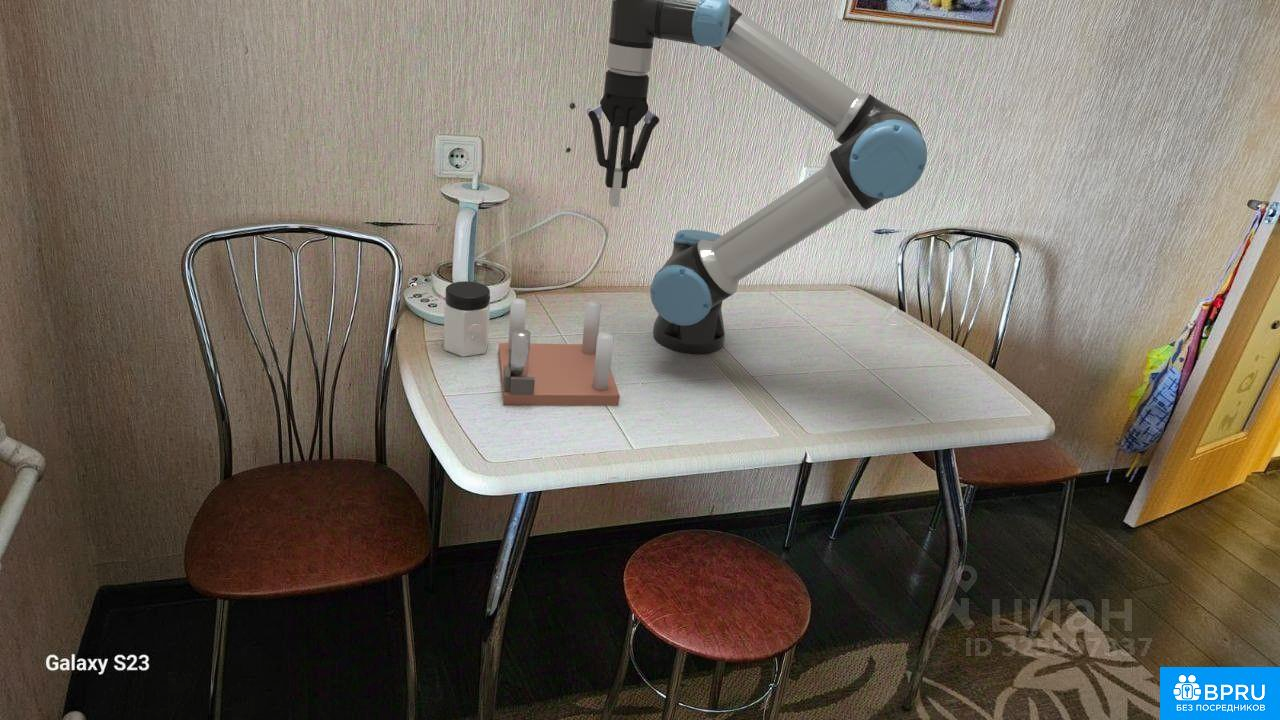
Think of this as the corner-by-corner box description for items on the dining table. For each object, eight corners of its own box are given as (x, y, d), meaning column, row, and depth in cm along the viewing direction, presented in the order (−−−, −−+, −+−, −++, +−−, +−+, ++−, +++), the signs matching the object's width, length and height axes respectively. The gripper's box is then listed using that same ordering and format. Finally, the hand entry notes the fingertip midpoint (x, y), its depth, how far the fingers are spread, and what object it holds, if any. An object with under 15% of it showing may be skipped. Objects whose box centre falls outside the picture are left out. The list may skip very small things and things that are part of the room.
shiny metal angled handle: (508, 361, 149) (510, 310, 144) (528, 361, 149) (531, 312, 145) (507, 388, 140) (510, 336, 135) (529, 389, 140) (532, 337, 136)
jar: (452, 359, 151) (453, 300, 146) (436, 341, 157) (436, 283, 152) (496, 352, 156) (499, 294, 151) (480, 335, 162) (481, 278, 157)
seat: (600, 353, 161) (607, 297, 155) (618, 405, 144) (625, 344, 138) (498, 352, 156) (501, 294, 151) (503, 405, 139) (506, 342, 134)
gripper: (659, 71, 145) (643, 201, 155) (587, 64, 142) (576, 196, 152) (669, 78, 138) (652, 213, 149) (593, 71, 135) (581, 208, 146)
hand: (613, 204), depth 150 cm, fingers closed
